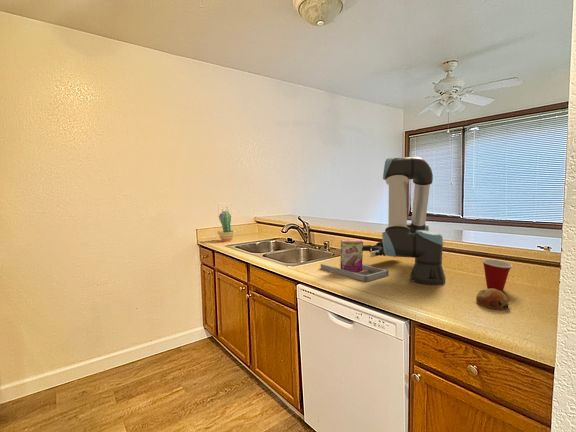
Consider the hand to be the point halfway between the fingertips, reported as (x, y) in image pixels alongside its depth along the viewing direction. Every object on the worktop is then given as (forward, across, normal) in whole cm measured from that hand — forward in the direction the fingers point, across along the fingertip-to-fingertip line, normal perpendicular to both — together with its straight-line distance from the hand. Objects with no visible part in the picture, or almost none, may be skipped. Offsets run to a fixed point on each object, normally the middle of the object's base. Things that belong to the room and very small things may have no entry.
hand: (360, 252), depth 167 cm
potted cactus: (+17, +128, -9) cm, 129 cm away
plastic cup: (-18, -58, -9) cm, 62 cm away
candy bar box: (+8, 0, -9) cm, 12 cm away
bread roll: (+2, -65, -9) cm, 65 cm away
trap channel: (+8, -1, -9) cm, 12 cm away
